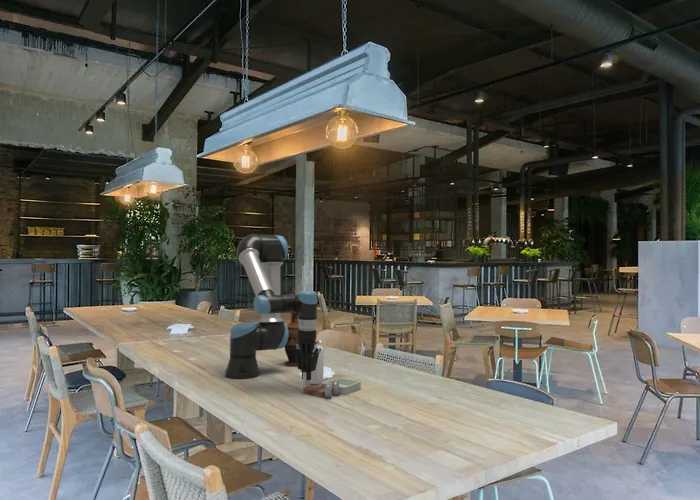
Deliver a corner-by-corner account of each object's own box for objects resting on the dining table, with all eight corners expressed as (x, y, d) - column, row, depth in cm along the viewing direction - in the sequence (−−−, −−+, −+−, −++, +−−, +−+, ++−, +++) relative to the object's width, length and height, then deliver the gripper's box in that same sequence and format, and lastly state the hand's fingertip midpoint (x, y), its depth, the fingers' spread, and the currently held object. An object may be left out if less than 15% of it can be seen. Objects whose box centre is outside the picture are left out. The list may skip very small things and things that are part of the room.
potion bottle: (320, 385, 212) (321, 343, 212) (301, 384, 214) (302, 342, 214) (325, 380, 220) (326, 340, 221) (307, 379, 222) (307, 339, 222)
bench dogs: (322, 398, 193) (323, 385, 193) (334, 393, 200) (334, 381, 200) (328, 399, 192) (328, 386, 192) (340, 395, 198) (340, 382, 198)
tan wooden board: (302, 394, 200) (302, 388, 200) (313, 390, 206) (313, 384, 206) (322, 398, 194) (323, 392, 194) (333, 394, 200) (333, 388, 200)
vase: (278, 365, 249) (279, 305, 249) (288, 361, 259) (289, 303, 260) (297, 367, 245) (298, 306, 245) (307, 363, 255) (308, 304, 255)
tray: (320, 390, 205) (320, 383, 205) (337, 384, 214) (337, 377, 215) (344, 395, 198) (344, 387, 198) (360, 388, 208) (360, 381, 208)
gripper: (288, 328, 203) (287, 387, 203) (314, 332, 196) (313, 392, 196) (300, 327, 210) (299, 383, 209) (325, 330, 203) (324, 388, 202)
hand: (306, 387), depth 203 cm, fingers closed
